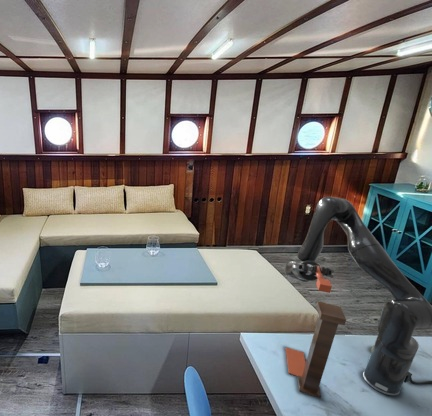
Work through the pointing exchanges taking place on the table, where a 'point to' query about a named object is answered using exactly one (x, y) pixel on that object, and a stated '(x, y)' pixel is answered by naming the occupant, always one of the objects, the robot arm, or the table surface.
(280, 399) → the table surface
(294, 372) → the terracotta mat
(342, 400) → the table surface
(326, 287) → the orange toy mallet
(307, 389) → the wooden square pillar
